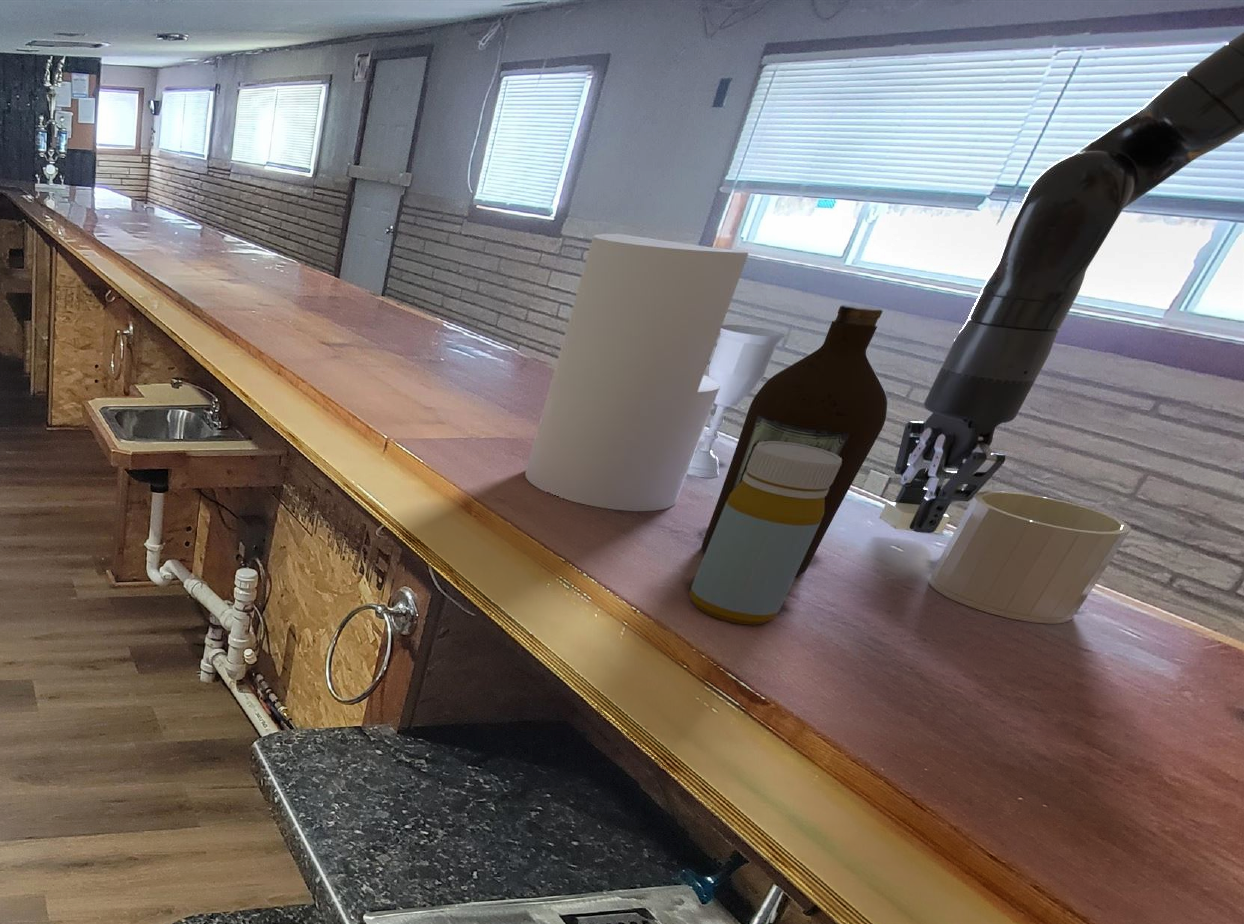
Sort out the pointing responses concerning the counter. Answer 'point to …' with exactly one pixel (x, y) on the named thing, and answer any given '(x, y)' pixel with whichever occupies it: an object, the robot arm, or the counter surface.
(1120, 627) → the counter surface
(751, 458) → the bottle
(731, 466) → the olive oil
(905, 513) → the cream block
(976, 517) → the cream round pot
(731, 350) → the chalice
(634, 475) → the cylinder
